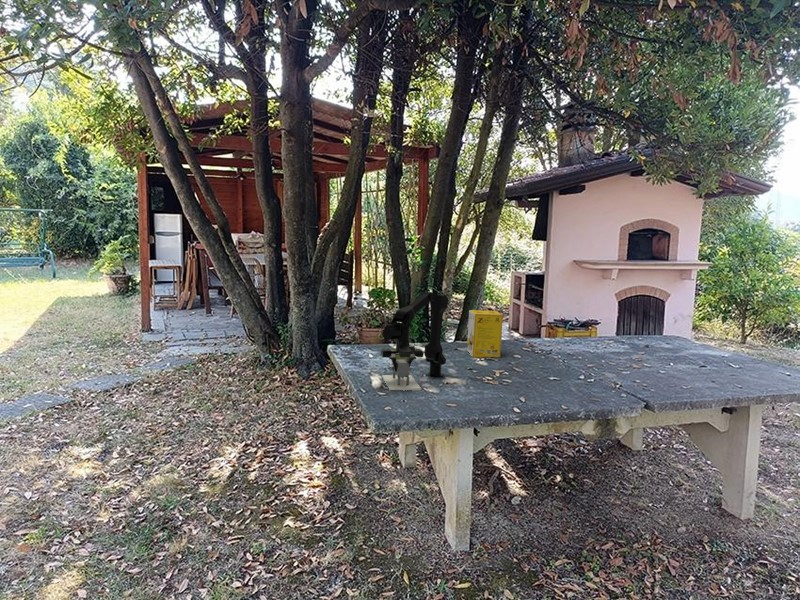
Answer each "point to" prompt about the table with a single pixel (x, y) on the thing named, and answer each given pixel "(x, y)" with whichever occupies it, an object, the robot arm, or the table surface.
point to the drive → (402, 368)
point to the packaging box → (484, 333)
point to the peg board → (400, 382)
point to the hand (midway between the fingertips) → (401, 371)
